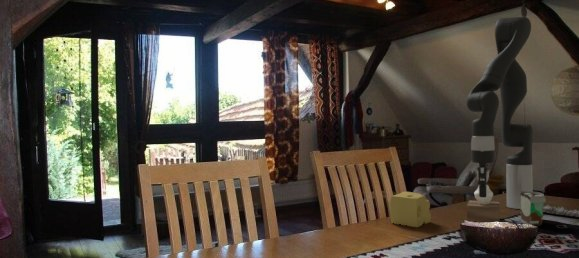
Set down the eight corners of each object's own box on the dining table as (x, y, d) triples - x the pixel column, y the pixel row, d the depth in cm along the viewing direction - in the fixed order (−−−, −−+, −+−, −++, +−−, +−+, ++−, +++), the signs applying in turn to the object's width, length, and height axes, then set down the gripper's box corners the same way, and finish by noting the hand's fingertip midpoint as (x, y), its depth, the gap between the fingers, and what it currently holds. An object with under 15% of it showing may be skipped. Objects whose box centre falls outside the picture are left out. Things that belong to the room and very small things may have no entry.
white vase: (494, 205, 150) (494, 185, 150) (475, 205, 152) (474, 184, 152) (492, 202, 156) (491, 182, 156) (473, 201, 158) (473, 182, 157)
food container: (552, 227, 143) (551, 197, 143) (531, 227, 144) (531, 196, 144) (538, 218, 155) (538, 190, 155) (519, 218, 156) (519, 190, 156)
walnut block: (469, 216, 161) (469, 200, 161) (499, 218, 156) (499, 202, 156) (467, 222, 152) (467, 205, 152) (499, 225, 147) (499, 207, 147)
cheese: (431, 222, 154) (431, 193, 154) (416, 228, 146) (416, 198, 146) (404, 218, 161) (403, 191, 161) (389, 223, 153) (388, 195, 153)
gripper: (472, 147, 161) (473, 191, 162) (469, 150, 149) (470, 197, 149) (495, 147, 158) (495, 192, 159) (494, 150, 145) (494, 199, 146)
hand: (483, 194), depth 154 cm, fingers open, 8 cm apart
